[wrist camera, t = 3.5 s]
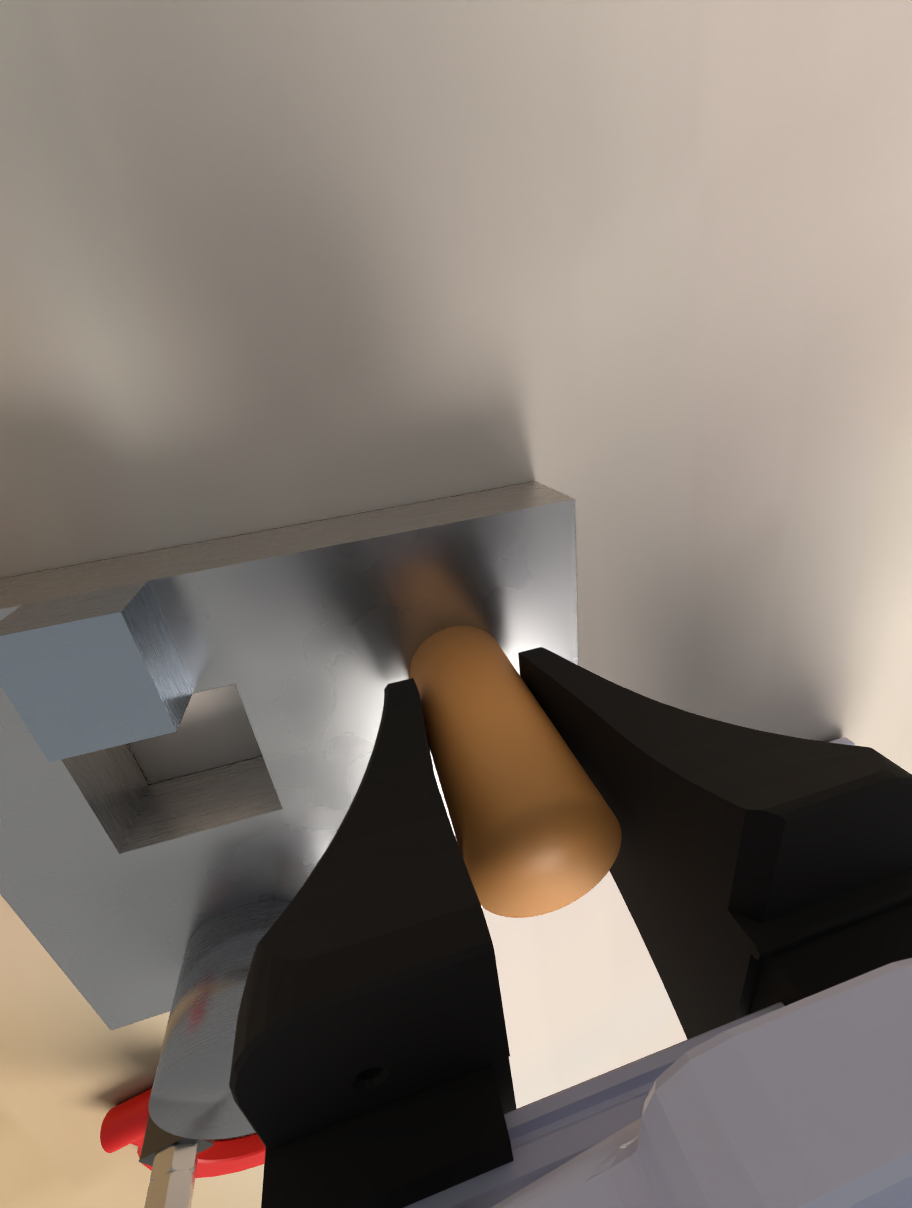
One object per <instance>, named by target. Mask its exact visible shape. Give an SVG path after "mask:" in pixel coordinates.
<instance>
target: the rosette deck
mask: <svg viewBox="0 0 912 1208" xmlns="http://www.w3.org/2000/svg"><path fill="white" fill-rule="evenodd" d="M454 626H471V627H476V628H479V629H482V630H484V631H486V632H487V633H489V634H490V635H491V636H492V637H493V638H494V639H495V640H496V641H497V643H498V644H499V646H500V647H501V648H502V650H503V651H504V653H505V654H506V656H507V657H508V659H509V660H510V662H511V663H512V665H513V666H514V668H515V669H516V671H517V672H518V673H519V675H520V671H519V658H518V652H522V651H526V650H530V649H534V648H538V647H543V648H545V649H547V650H549V651H551V652H553V653H555V654H557V655H559V656H561V657H563V658H565V659H567V660H569V661H571V662H573V663H574V664H576V665H578V638H577V582H576V526H575V499H573V498H571V497H569V496H567V495H564V494H562V493H560V492H558V491H556V490H554V489H551V488H549V487H547V486H545V485H543V484H540V483H538V482H536V481H535V482H530V483H524V484H519V485H513V486H508V487H502V488H497V489H491V490H486V491H480V492H475V493H469V494H464V495H458V496H453V497H447V498H442V499H436V500H431V501H425V502H420V503H414V504H409V505H403V506H398V507H392V508H387V509H381V510H376V511H370V512H365V513H359V514H354V515H348V516H343V517H337V518H332V519H326V520H321V521H315V522H310V523H304V524H299V525H293V526H288V527H282V528H277V529H271V530H266V531H260V532H255V533H249V534H244V535H238V536H233V537H227V538H222V539H216V540H211V541H206V542H200V543H195V544H189V545H184V546H178V547H173V548H167V549H162V550H156V551H151V552H145V553H140V554H134V555H129V556H123V557H118V558H112V559H107V560H101V561H96V562H90V563H85V564H79V565H74V566H68V567H63V568H57V569H52V570H46V571H41V572H35V573H30V574H24V575H19V576H13V577H8V578H2V579H0V894H1V895H2V897H3V898H4V899H5V900H6V901H7V903H8V904H9V905H10V906H11V908H12V909H13V910H14V911H15V913H16V914H17V915H18V916H19V918H20V919H21V920H22V921H23V922H24V924H25V925H26V926H27V927H28V929H29V930H30V931H31V932H32V934H33V935H34V936H35V937H36V938H37V940H38V941H39V942H40V943H41V945H42V946H43V947H44V948H45V950H46V951H47V952H48V953H49V955H50V956H51V957H52V958H53V959H54V961H55V962H56V963H57V964H58V966H59V967H60V968H61V969H62V971H63V972H64V973H65V974H66V976H67V977H68V978H69V979H70V980H71V982H72V983H73V984H74V985H75V987H76V988H77V989H78V990H79V992H80V993H81V994H82V995H83V997H84V998H85V999H86V1000H87V1001H88V1003H89V1004H90V1005H91V1006H92V1008H93V1009H94V1010H95V1011H96V1013H97V1014H98V1015H99V1016H100V1018H101V1019H102V1020H103V1021H104V1022H105V1024H106V1025H107V1026H108V1027H109V1029H110V1030H114V1029H117V1028H120V1027H123V1026H126V1025H129V1024H132V1023H135V1022H138V1021H141V1020H144V1019H147V1018H150V1017H153V1016H156V1015H159V1014H163V1013H166V1012H169V1011H171V1012H170V1016H169V1020H168V1024H167V1028H166V1033H165V1037H164V1041H163V1045H162V1049H161V1053H160V1058H159V1062H158V1066H157V1070H156V1074H155V1078H154V1083H153V1087H152V1091H151V1095H150V1099H149V1104H148V1107H149V1114H150V1117H151V1119H152V1120H153V1122H154V1123H155V1124H156V1125H157V1126H158V1127H159V1128H161V1129H163V1130H164V1131H166V1132H168V1133H171V1134H173V1135H176V1136H180V1137H184V1138H190V1139H202V1140H208V1139H225V1138H232V1137H238V1136H243V1135H247V1134H251V1133H255V1131H254V1129H253V1128H252V1126H251V1125H250V1123H249V1122H248V1120H247V1119H246V1117H245V1116H244V1114H243V1113H242V1112H241V1110H240V1109H239V1107H238V1106H237V1104H236V1103H235V1101H234V1099H233V1096H232V1093H231V1090H230V1087H229V1081H230V1073H231V1065H232V1056H233V1048H234V1040H235V1031H236V1024H237V1017H238V1013H239V1008H240V1003H241V999H242V995H243V991H244V987H245V983H246V979H247V975H248V972H249V969H250V965H251V962H252V958H253V955H254V952H255V949H256V946H257V944H258V943H259V941H260V940H261V939H262V938H263V937H264V935H265V934H266V933H267V931H268V930H269V929H270V928H271V926H272V925H273V924H274V922H275V921H276V920H277V919H278V917H279V916H280V915H281V914H282V912H283V911H284V910H285V908H286V907H287V906H288V905H289V903H290V902H291V901H292V899H293V898H294V897H295V895H296V894H297V893H298V891H299V890H300V888H301V887H302V886H303V884H304V883H305V881H306V880H307V878H308V877H309V875H310V873H311V872H312V870H313V869H314V867H315V866H316V864H317V863H318V861H319V860H320V858H321V857H322V855H323V854H324V852H325V851H326V849H327V847H328V846H329V844H330V842H331V841H332V839H333V837H334V836H335V834H336V832H337V830H338V828H339V826H340V825H341V823H342V821H343V819H344V817H345V815H346V813H347V811H348V809H349V807H350V805H351V803H352V801H353V799H354V797H355V795H356V792H357V790H358V788H359V786H360V783H361V781H362V778H363V776H364V773H365V771H366V768H367V765H368V762H369V759H370V756H371V753H372V751H373V748H374V744H375V741H376V737H377V733H378V729H379V726H380V722H381V717H382V711H383V705H384V689H385V687H386V686H387V685H388V684H390V683H394V682H398V681H402V680H406V679H409V668H410V664H411V661H412V658H413V656H414V654H415V652H416V651H417V649H418V648H419V647H420V645H421V644H422V643H423V642H424V641H425V640H426V639H428V638H429V637H430V636H432V635H433V634H435V633H437V632H439V631H441V630H443V629H446V628H450V627H454ZM232 684H235V685H236V688H237V690H238V693H239V696H240V698H241V701H242V703H243V706H244V709H245V711H246V714H247V716H248V719H249V722H250V724H251V727H252V730H253V732H254V735H255V737H256V740H257V743H258V745H259V748H260V751H261V753H262V756H261V757H257V758H253V759H250V760H246V761H242V762H238V763H234V764H230V765H226V766H222V767H218V768H214V769H211V770H207V771H203V772H199V773H195V774H191V775H187V776H183V777H179V778H175V779H171V780H168V781H164V782H160V783H156V784H152V785H148V783H147V781H146V779H145V777H144V775H143V774H142V772H141V770H140V768H139V766H138V764H137V762H136V760H135V758H134V757H133V755H132V753H131V751H130V749H129V747H128V745H127V744H128V743H132V742H136V741H140V740H144V739H148V738H152V737H157V736H161V735H165V734H169V733H173V732H177V729H178V727H179V725H180V722H181V720H182V717H183V715H184V713H185V710H186V708H187V705H188V703H189V701H190V698H191V696H192V694H193V693H197V692H202V691H206V690H210V689H215V688H219V687H223V686H228V685H232ZM430 753H431V752H430ZM431 758H432V755H431ZM432 764H433V769H434V774H435V778H436V781H437V784H438V787H439V790H440V793H441V796H442V799H443V802H444V805H445V808H446V811H447V814H448V817H449V820H450V823H451V819H450V816H449V813H448V809H447V806H446V802H445V799H444V796H443V792H442V789H441V786H440V782H439V779H438V775H437V772H436V769H435V765H434V762H433V759H432ZM451 826H452V823H451ZM452 828H453V826H452ZM453 831H454V829H453ZM454 834H455V833H454ZM455 837H456V836H455ZM481 907H482V906H481ZM482 908H484V907H482Z"/></svg>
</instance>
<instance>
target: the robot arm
mask: <svg viewBox="0 0 912 1208" xmlns="http://www.w3.org/2000/svg"><path fill="white" fill-rule="evenodd" d="M518 658H519V671H520V676H521V678H522V679H523V681H524V682H525V684H526V685H527V687H528V688H529V690H530V691H531V693H532V694H533V696H534V697H535V698H536V700H537V701H538V703H539V704H540V706H541V707H542V709H543V710H544V712H545V713H546V715H547V716H548V718H549V719H550V721H551V722H552V723H553V725H554V726H555V728H556V729H557V731H558V732H559V734H560V735H561V737H562V738H563V740H564V741H565V743H566V744H567V746H568V747H569V749H570V750H571V751H572V753H573V754H574V756H575V757H576V759H577V760H578V762H579V763H580V765H581V766H582V768H583V769H584V771H585V772H586V774H587V775H588V776H589V778H590V779H591V781H592V782H593V784H594V785H595V787H596V788H597V790H598V791H599V793H600V794H601V796H602V797H603V799H604V800H605V801H606V803H607V804H608V806H609V807H610V809H611V810H612V812H613V813H614V815H615V816H616V818H617V820H618V822H619V824H620V828H621V836H622V839H621V846H620V850H619V853H618V855H617V858H616V860H615V862H614V863H613V865H612V867H611V868H610V872H611V874H612V876H613V878H614V880H615V882H616V884H617V886H618V888H619V890H620V893H621V895H622V897H623V899H624V901H625V903H626V905H627V907H628V909H629V911H630V913H631V915H632V917H633V919H634V921H635V923H636V926H637V928H638V930H639V932H640V934H641V936H642V938H643V941H644V943H645V945H646V947H647V949H648V951H649V954H650V956H651V958H652V960H653V962H654V964H655V967H656V969H657V971H658V973H659V975H660V977H661V980H662V982H663V984H664V986H665V989H666V991H667V993H668V995H669V998H670V1000H671V1002H672V1005H673V1007H674V1009H675V1011H676V1014H677V1016H678V1018H679V1021H680V1023H681V1025H682V1027H683V1030H684V1032H685V1034H686V1037H687V1039H688V1040H686V1041H683V1042H681V1043H678V1044H676V1045H673V1046H671V1047H668V1048H666V1049H663V1050H661V1051H658V1052H656V1053H654V1054H651V1055H649V1056H646V1057H644V1058H641V1059H639V1060H636V1061H634V1062H631V1063H629V1064H626V1065H624V1066H622V1067H619V1068H617V1069H614V1070H612V1071H609V1072H607V1073H604V1074H602V1075H599V1076H597V1077H594V1078H592V1079H590V1080H587V1081H585V1082H582V1083H580V1084H577V1085H575V1086H572V1087H570V1088H567V1089H565V1090H562V1091H560V1092H558V1093H555V1094H553V1095H550V1096H548V1097H545V1098H543V1099H540V1100H538V1101H535V1102H533V1103H530V1104H528V1105H526V1106H523V1107H521V1108H518V1109H516V1103H515V1097H514V1090H513V1083H512V1077H511V1070H510V1064H509V1056H510V1054H509V1047H508V1040H507V1034H506V1027H505V1020H504V1014H503V1007H502V1000H501V993H500V987H499V980H498V973H497V967H496V960H495V953H494V948H493V944H492V940H491V937H490V933H489V930H488V927H487V923H486V920H485V917H484V914H483V910H482V907H481V904H480V901H479V899H478V896H477V893H476V891H475V888H474V886H473V883H472V881H471V878H470V875H469V873H468V870H467V867H466V865H465V862H464V859H463V856H462V854H461V851H460V848H459V846H458V843H457V840H456V837H455V834H454V831H453V828H452V826H451V823H450V820H449V817H448V814H447V811H446V808H445V805H444V802H443V799H442V796H441V793H440V790H439V787H438V784H437V781H436V778H435V774H434V769H433V764H432V758H431V753H430V748H429V743H428V738H427V732H426V726H425V721H424V716H423V710H422V705H421V700H420V695H419V691H418V688H417V686H416V683H415V681H414V678H411V679H406V680H402V681H398V682H394V683H390V684H388V685H387V686H386V687H385V689H384V705H383V711H382V717H381V722H380V726H379V729H378V733H377V737H376V741H375V744H374V748H373V751H372V753H371V756H370V759H369V762H368V765H367V768H366V771H365V773H364V776H363V778H362V781H361V783H360V786H359V788H358V790H357V792H356V795H355V797H354V799H353V801H352V803H351V805H350V807H349V809H348V811H347V813H346V815H345V817H344V819H343V821H342V823H341V825H340V826H339V828H338V830H337V832H336V834H335V836H334V837H333V839H332V841H331V842H330V844H329V846H328V847H327V849H326V851H325V852H324V854H323V855H322V857H321V858H320V860H319V861H318V863H317V864H316V866H315V867H314V869H313V870H312V872H311V873H310V875H309V877H308V878H307V880H306V881H305V883H304V884H303V886H302V887H301V888H300V890H299V891H298V893H297V894H296V895H295V897H294V898H293V899H292V901H291V902H290V903H289V905H288V906H287V907H286V908H285V910H284V911H283V912H282V914H281V915H280V916H279V917H278V919H277V920H276V921H275V922H274V924H273V925H272V926H271V928H270V929H269V930H268V931H267V933H266V934H265V935H264V937H263V938H262V939H261V940H260V941H259V943H258V944H257V946H256V949H255V952H254V955H253V958H252V962H251V965H250V969H249V972H248V975H247V979H246V983H245V987H244V991H243V995H242V999H241V1003H240V1008H239V1013H238V1017H237V1024H236V1031H235V1040H234V1048H233V1056H232V1065H231V1073H230V1081H229V1087H230V1090H231V1093H232V1096H233V1099H234V1101H235V1103H236V1104H237V1106H238V1107H239V1109H240V1110H241V1112H242V1113H243V1114H244V1116H245V1117H246V1119H247V1120H248V1122H249V1123H250V1125H251V1126H252V1128H253V1129H254V1131H255V1132H256V1133H257V1135H258V1136H259V1138H260V1139H261V1141H262V1142H263V1144H264V1145H265V1146H266V1151H265V1164H264V1178H263V1192H262V1205H261V1208H912V775H911V774H910V773H908V772H907V771H905V770H904V769H902V768H901V767H899V766H898V765H896V764H895V763H893V762H892V761H890V760H889V759H887V758H886V757H884V756H883V755H881V754H880V753H878V752H877V751H875V750H874V749H872V748H869V747H861V746H855V744H854V742H852V741H851V740H849V739H848V738H840V739H837V740H833V741H830V742H823V741H815V740H807V739H801V738H795V737H790V736H784V735H779V734H774V733H768V732H763V731H759V730H754V729H750V728H745V727H741V726H737V725H733V724H729V723H725V722H721V721H717V720H714V719H710V718H706V717H703V716H699V715H696V714H693V713H689V712H686V711H683V710H681V709H678V708H675V707H672V706H669V705H666V704H663V703H660V702H658V701H655V700H652V699H650V698H647V697H645V696H642V695H640V694H638V693H635V692H633V691H631V690H628V689H626V688H623V687H621V686H619V685H617V684H615V683H613V682H610V681H608V680H606V679H604V678H602V677H600V676H598V675H596V674H594V673H592V672H590V671H588V670H586V669H584V668H582V667H580V666H578V665H576V664H574V663H573V662H571V661H569V660H567V659H565V658H563V657H561V656H559V655H557V654H555V653H553V652H551V651H549V650H547V649H545V648H543V647H538V648H534V649H530V650H526V651H522V652H518Z"/></svg>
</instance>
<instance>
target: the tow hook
mask: <svg viewBox="0 0 912 1208" xmlns="http://www.w3.org/2000/svg"><path fill="white" fill-rule="evenodd" d="M151 1091H152V1088H151V1089H149V1090H147V1091H145V1092H143V1093H141V1094H139V1095H137V1096H135V1097H133V1098H131V1099H129V1100H127V1101H125V1102H123V1103H121V1104H119V1105H118V1106H116V1107H114V1108H112V1109H111V1110H109V1112H108V1113H107V1114H106V1116H105V1118H104V1120H103V1123H102V1126H101V1133H100V1139H101V1145H102V1148H103V1149H104V1150H105V1151H106V1152H107V1153H112V1152H115V1151H116V1150H118V1149H120V1148H122V1147H124V1146H126V1145H128V1144H130V1143H131V1144H134V1145H137V1146H138V1151H137V1153H138V1155H139V1158H140V1159H139V1162H141V1163H142V1164H143V1165H144V1166H146V1167H147V1168H149V1169H150V1170H151V1171H152V1172H151V1178H150V1184H149V1187H148V1192H147V1197H146V1202H145V1208H191V1204H192V1197H193V1190H194V1182H195V1178H201V1177H214V1176H219V1175H224V1174H229V1173H234V1172H239V1171H242V1170H246V1169H249V1168H252V1167H256V1166H259V1165H262V1164H265V1151H266V1146H265V1145H264V1144H263V1142H262V1141H261V1139H260V1138H259V1136H258V1135H257V1134H253V1135H249V1136H246V1137H242V1138H236V1139H230V1140H222V1141H214V1139H208V1140H202V1139H190V1138H184V1137H180V1136H176V1135H173V1134H171V1133H168V1132H166V1131H164V1130H163V1129H161V1128H159V1127H158V1126H157V1125H156V1124H155V1123H154V1122H153V1120H152V1119H151V1117H150V1114H149V1107H148V1104H149V1099H150V1095H151Z"/></svg>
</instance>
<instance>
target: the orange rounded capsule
mask: <svg viewBox="0 0 912 1208" xmlns="http://www.w3.org/2000/svg"><path fill="white" fill-rule="evenodd" d="M411 678H414V681H415V683H416V686H417V688H418V691H419V695H420V700H421V705H422V710H423V716H424V721H425V726H426V732H427V738H428V743H429V748H430V752H431V755H432V759H433V762H434V765H435V769H436V772H437V775H438V779H439V782H440V786H441V789H442V792H443V796H444V799H445V802H446V806H447V809H448V813H449V816H450V819H451V823H452V826H453V829H454V833H455V836H456V840H457V843H458V846H459V848H460V851H461V854H462V856H463V859H464V862H465V865H466V867H467V870H468V873H469V875H470V878H471V881H472V883H473V886H474V888H475V891H476V893H477V896H478V899H479V901H480V904H481V906H482V907H484V908H485V909H486V910H488V911H490V912H492V913H494V914H497V915H500V916H505V917H513V918H524V917H533V916H538V915H542V914H546V913H549V912H552V911H555V910H557V909H560V908H562V907H564V906H566V905H568V904H570V903H572V902H574V901H576V900H577V899H579V898H580V897H582V896H583V895H585V894H586V893H587V892H589V891H590V890H591V889H592V888H594V887H595V886H596V885H597V884H598V883H599V882H600V881H601V880H602V878H603V877H604V876H605V875H606V874H607V872H608V871H609V870H610V868H611V867H612V865H613V863H614V862H615V860H616V858H617V855H618V853H619V850H620V846H621V839H622V836H621V828H620V824H619V822H618V820H617V818H616V816H615V815H614V813H613V812H612V810H611V809H610V807H609V806H608V804H607V803H606V801H605V800H604V799H603V797H602V796H601V794H600V793H599V791H598V790H597V788H596V787H595V785H594V784H593V782H592V781H591V779H590V778H589V776H588V775H587V774H586V772H585V771H584V769H583V768H582V766H581V765H580V763H579V762H578V760H577V759H576V757H575V756H574V754H573V753H572V751H571V750H570V749H569V747H568V746H567V744H566V743H565V741H564V740H563V738H562V737H561V735H560V734H559V732H558V731H557V729H556V728H555V726H554V725H553V723H552V722H551V721H550V719H549V718H548V716H547V715H546V713H545V712H544V710H543V709H542V707H541V706H540V704H539V703H538V701H537V700H536V698H535V697H534V696H533V694H532V693H531V691H530V690H529V688H528V687H527V685H526V684H525V682H524V681H523V679H522V678H521V676H520V675H519V673H518V672H517V671H516V669H515V668H514V666H513V665H512V663H511V662H510V660H509V659H508V657H507V656H506V654H505V653H504V651H503V650H502V648H501V647H500V646H499V644H498V643H497V641H496V640H495V639H494V638H493V637H492V636H491V635H490V634H489V633H487V632H486V631H484V630H482V629H479V628H476V627H471V626H454V627H450V628H446V629H443V630H441V631H439V632H437V633H435V634H433V635H432V636H430V637H429V638H428V639H426V640H425V641H424V642H423V643H422V644H421V645H420V647H419V648H418V649H417V651H416V652H415V654H414V656H413V658H412V661H411V664H410V668H409V679H411Z"/></svg>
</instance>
